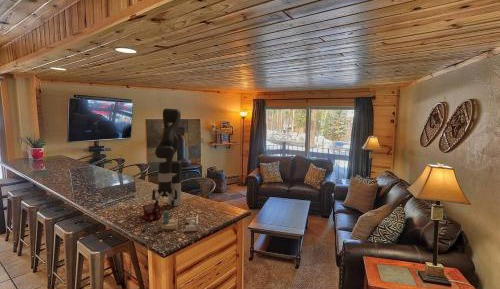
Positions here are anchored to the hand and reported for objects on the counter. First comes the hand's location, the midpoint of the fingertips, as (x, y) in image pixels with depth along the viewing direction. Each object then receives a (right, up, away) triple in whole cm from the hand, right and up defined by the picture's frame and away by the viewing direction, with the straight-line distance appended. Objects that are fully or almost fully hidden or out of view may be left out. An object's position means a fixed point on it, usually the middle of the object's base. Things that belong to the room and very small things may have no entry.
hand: (165, 206), depth 158 cm
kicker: (+2, -13, +2) cm, 13 cm away
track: (-1, -13, +1) cm, 13 cm away
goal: (+15, -13, +4) cm, 21 cm away
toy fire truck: (-12, -12, +13) cm, 21 cm away
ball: (+15, -13, +4) cm, 21 cm away
